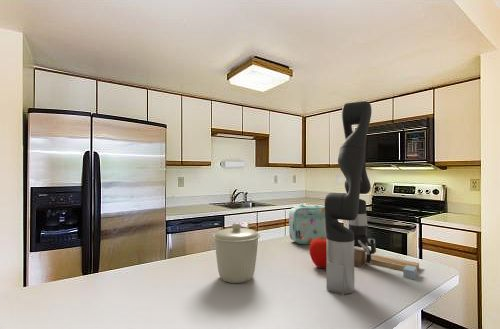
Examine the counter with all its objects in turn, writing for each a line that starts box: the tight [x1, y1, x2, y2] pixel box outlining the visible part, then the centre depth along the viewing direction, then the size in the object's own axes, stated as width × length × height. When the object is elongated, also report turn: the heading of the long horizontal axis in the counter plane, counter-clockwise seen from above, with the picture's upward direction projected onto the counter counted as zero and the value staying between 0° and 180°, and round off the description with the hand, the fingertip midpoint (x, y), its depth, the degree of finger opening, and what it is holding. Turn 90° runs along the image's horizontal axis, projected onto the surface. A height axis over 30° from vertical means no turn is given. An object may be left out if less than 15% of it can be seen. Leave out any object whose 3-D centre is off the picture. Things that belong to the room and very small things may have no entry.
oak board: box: [366, 253, 420, 272], centre depth 120 cm, size 8×26×2 cm, turn 49°
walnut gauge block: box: [354, 247, 367, 268], centre depth 120 cm, size 6×4×6 cm
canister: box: [212, 222, 261, 284], centre depth 105 cm, size 18×18×21 cm
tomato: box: [309, 237, 327, 269], centre depth 116 cm, size 11×11×13 cm
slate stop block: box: [402, 265, 418, 280], centre depth 106 cm, size 6×4×3 cm, turn 139°
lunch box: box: [288, 204, 326, 245], centre depth 156 cm, size 27×10×21 cm, turn 104°
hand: (358, 260), depth 119 cm, fingers open, 8 cm apart
